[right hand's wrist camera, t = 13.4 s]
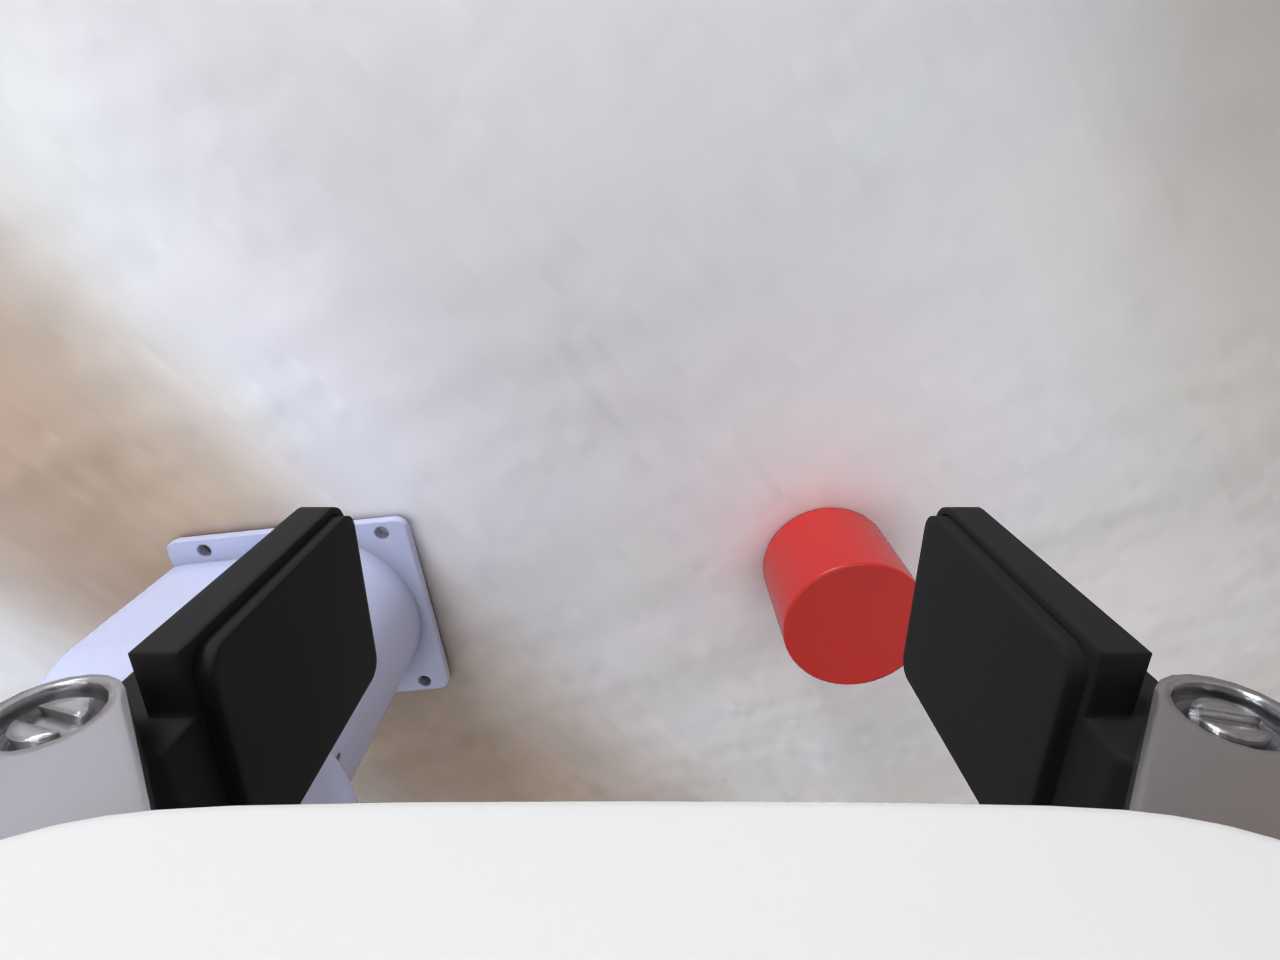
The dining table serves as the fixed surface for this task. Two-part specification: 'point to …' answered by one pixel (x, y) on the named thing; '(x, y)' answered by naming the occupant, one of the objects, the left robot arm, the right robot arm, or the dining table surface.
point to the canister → (839, 596)
